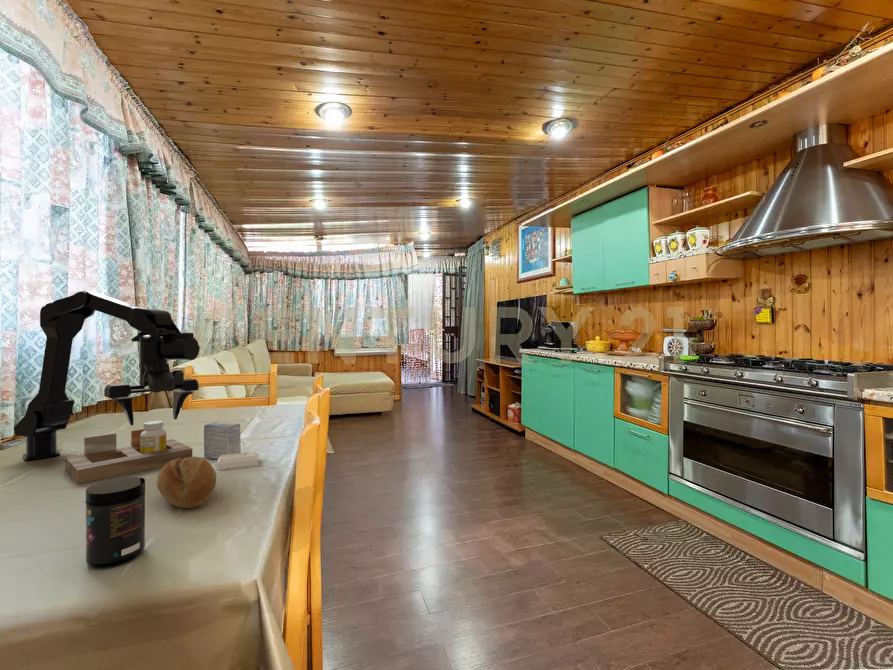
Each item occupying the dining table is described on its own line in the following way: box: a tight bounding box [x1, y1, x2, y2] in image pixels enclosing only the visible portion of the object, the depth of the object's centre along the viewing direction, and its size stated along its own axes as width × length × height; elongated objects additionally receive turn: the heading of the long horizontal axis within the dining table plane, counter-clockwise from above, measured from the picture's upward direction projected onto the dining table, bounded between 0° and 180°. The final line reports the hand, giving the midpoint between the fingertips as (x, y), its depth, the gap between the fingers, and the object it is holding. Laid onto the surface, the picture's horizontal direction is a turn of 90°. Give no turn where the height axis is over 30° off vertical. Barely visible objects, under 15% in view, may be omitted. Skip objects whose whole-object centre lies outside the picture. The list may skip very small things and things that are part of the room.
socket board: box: [64, 428, 193, 485], centre depth 102 cm, size 14×22×7 cm, turn 140°
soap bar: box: [215, 451, 260, 471], centre depth 102 cm, size 5×9×3 cm, turn 114°
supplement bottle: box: [140, 420, 167, 454], centre depth 105 cm, size 5×5×10 cm
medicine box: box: [203, 421, 242, 460], centre depth 108 cm, size 8×4×9 cm, turn 71°
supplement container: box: [85, 476, 146, 569], centre depth 60 cm, size 7×7×10 cm
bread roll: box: [156, 456, 217, 509], centre depth 81 cm, size 10×15×8 cm, turn 40°
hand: (154, 422), depth 105 cm, fingers open, 9 cm apart
